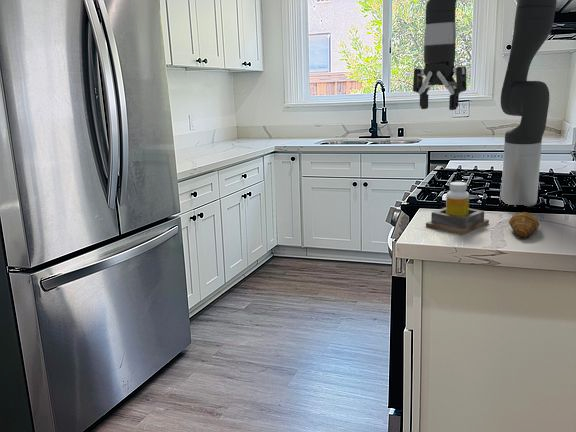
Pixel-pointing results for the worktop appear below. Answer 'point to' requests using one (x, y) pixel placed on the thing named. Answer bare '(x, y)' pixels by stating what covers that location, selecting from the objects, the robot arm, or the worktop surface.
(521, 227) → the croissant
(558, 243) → the worktop surface
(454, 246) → the worktop surface
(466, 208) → the supplement bottle
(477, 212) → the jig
